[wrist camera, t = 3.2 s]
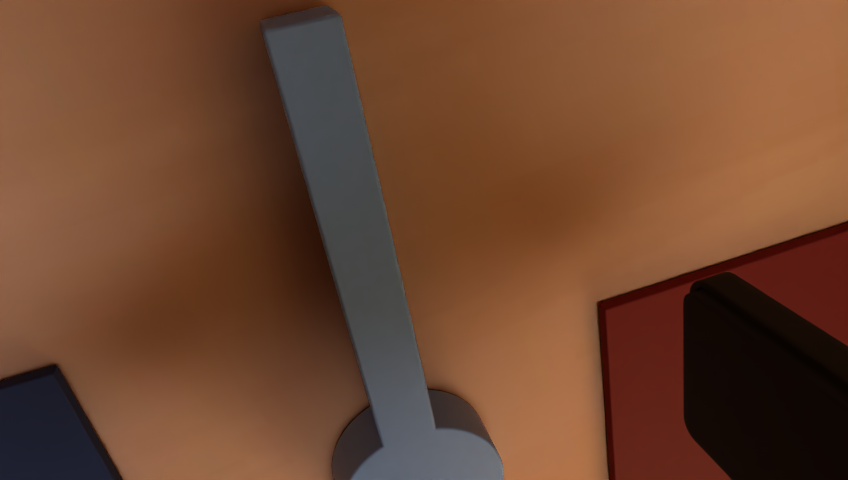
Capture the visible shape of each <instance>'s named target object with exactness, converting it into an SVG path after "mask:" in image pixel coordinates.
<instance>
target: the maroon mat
mask: <svg viewBox="0 0 848 480" xmlns="http://www.w3.org/2000/svg"><path fill="white" fill-rule="evenodd" d="M723 272H731V273H733V274H735V275H737V276H738V277H740V278H742V279H743V280H745V281H746V282H748V283H749V284H751V285H753V286H754V287H756V288H757V289H759V290H760V291H762V292H764V293H765V294H767V295H768V296H770V297H771V298H773V299H775V300H776V301H778V302H779V303H781V304H782V305H784V306H786V307H787V308H789V309H790V310H792V311H793V312H795V313H797V314H798V315H800V316H801V317H803V318H804V319H806V320H808V321H809V322H811V323H812V324H814V325H815V326H817V327H819V328H820V329H822V330H823V331H825V332H826V333H828V334H830V335H831V336H833V337H834V338H836V339H837V340H839V341H841V342H842V343H844V344H845V345H847V346H848V223H845V224H842V225H839V226H836V227H833V228H830V229H826V230H823V231H820V232H817V233H814V234H811V235H808V236H805V237H802V238H799V239H796V240H792V241H789V242H786V243H783V244H780V245H777V246H774V247H771V248H768V249H765V250H762V251H758V252H755V253H752V254H749V255H746V256H743V257H740V258H737V259H734V260H731V261H728V262H725V263H721V264H718V265H715V266H712V267H709V268H706V269H703V270H700V271H697V272H694V273H691V274H687V275H684V276H681V277H678V278H675V279H672V280H669V281H666V282H663V283H660V284H657V285H653V286H650V287H647V288H644V289H641V290H638V291H635V292H632V293H629V294H626V295H623V296H619V297H616V298H613V299H610V300H607V301H604V302H601V303H599V320H600V335H601V351H602V366H603V382H604V397H605V413H606V428H607V444H608V459H609V475H610V480H732V479H731V478H730V477H729V476H728V475H727V474H726V473H725V472H724V471H723V470H722V469H721V468H720V467H719V466H718V465H717V464H716V463H715V461H714V460H713V459H712V458H711V457H710V456H709V455H708V454H707V453H706V452H705V451H704V450H703V449H702V448H701V447H700V446H699V445H698V444H697V443H696V442H695V440H694V439H693V438H692V437H691V435H690V434H689V432H688V430H687V428H686V425H685V422H684V376H683V301H684V297H685V295H686V294H688V293H690V288H691V286H692V284H693V283H694V282H696V281H699V280H702V279H705V278H708V277H711V276H714V275H717V274H720V273H723Z"/></svg>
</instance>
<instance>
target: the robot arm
mask: <svg viewBox="0 0 848 480" xmlns="http://www.w3.org/2000/svg"><path fill="white" fill-rule="evenodd" d="M683 376H684V422H685V425H686V428H687V430H688V432H689V434H690V435H691V437H692V438H693V439H694V440H695V442H696V443H697V444H698V445H699V446H700V447H701V448H702V449H703V450H704V451H705V452H706V453H707V454H708V455H709V456H710V457H711V458H712V459H713V460H714V461H715V463H716V464H717V465H718V466H719V467H720V468H721V469H722V470H723V471H724V472H725V473H726V474H727V475H728V476H729V477H730V478H731V479H732V480H848V346H847V345H845V344H844V343H842V342H841V341H839V340H837V339H836V338H834V337H833V336H831V335H830V334H828V333H826V332H825V331H823V330H822V329H820V328H819V327H817V326H815V325H814V324H812V323H811V322H809V321H808V320H806V319H804V318H803V317H801V316H800V315H798V314H797V313H795V312H793V311H792V310H790V309H789V308H787V307H786V306H784V305H782V304H781V303H779V302H778V301H776V300H775V299H773V298H771V297H770V296H768V295H767V294H765V293H764V292H762V291H760V290H759V289H757V288H756V287H754V286H753V285H751V284H749V283H748V282H746V281H745V280H743V279H742V278H740V277H738V276H737V275H735V274H733V273H731V272H723V273H720V274H717V275H714V276H711V277H708V278H705V279H702V280H699V281H696V282H694V283H693V284H692V286H691V288H690V293H688V294H686V295H685V297H684V301H683Z"/></svg>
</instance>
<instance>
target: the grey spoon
mask: <svg viewBox="0 0 848 480" xmlns="http://www.w3.org/2000/svg"><path fill="white" fill-rule="evenodd" d="M260 28H261V31H262V35H263V38H264V42H265V45H266V48H267V52H268V55H269V59H270V62H271V66H272V69H273V73H274V76H275V80H276V83H277V86H278V90H279V93H280V97H281V100H282V104H283V107H284V111H285V114H286V118H287V121H288V124H289V128H290V131H291V135H292V138H293V142H294V145H295V149H296V152H297V156H298V159H299V162H300V166H301V169H302V173H303V176H304V180H305V183H306V187H307V190H308V194H309V197H310V200H311V204H312V207H313V211H314V214H315V218H316V221H317V225H318V228H319V231H320V235H321V238H322V242H323V245H324V249H325V252H326V256H327V259H328V263H329V266H330V269H331V273H332V276H333V280H334V283H335V287H336V290H337V294H338V297H339V301H340V304H341V307H342V311H343V314H344V318H345V321H346V325H347V328H348V332H349V335H350V339H351V342H352V345H353V349H354V352H355V356H356V359H357V363H358V366H359V370H360V373H361V377H362V380H363V383H364V387H365V390H366V394H367V397H368V401H369V404H370V407H369V408H367V409H366V410H364V411H363V412H362V413H361V414H359V415H358V416H357V417H356V418H355V419H354V420H353V421H352V422H351V423H350V424H349V426H348V427H347V428H346V429H345V431H344V432H343V434H342V435H341V437H340V439H339V441H338V443H337V445H336V448H335V451H334V455H333V460H332V474H333V479H334V480H503V478H504V472H503V464H502V461H501V458H500V456H499V454H498V452H497V450H496V448H495V446H494V444H493V442H492V440H491V438H490V436H489V434H488V433H487V431H486V429H485V427H484V425H483V423H482V421H481V419H480V417H479V415H478V414H477V413H476V411H475V410H474V409H473V408H472V407H471V406H470V405H469V404H468V403H467V402H465V401H464V400H463V399H461V398H459V397H457V396H455V395H453V394H449V393H446V392H442V391H437V390H428V389H427V385H426V381H425V376H424V372H423V368H422V363H421V359H420V355H419V350H418V346H417V342H416V337H415V333H414V329H413V324H412V320H411V316H410V311H409V307H408V303H407V298H406V294H405V290H404V285H403V281H402V277H401V273H400V268H399V264H398V260H397V255H396V251H395V247H394V242H393V238H392V234H391V229H390V225H389V221H388V216H387V212H386V208H385V203H384V199H383V195H382V190H381V186H380V182H379V177H378V173H377V169H376V164H375V160H374V156H373V151H372V147H371V143H370V138H369V134H368V130H367V125H366V121H365V117H364V112H363V108H362V104H361V99H360V95H359V91H358V86H357V82H356V78H355V73H354V69H353V65H352V60H351V56H350V52H349V47H348V43H347V39H346V34H345V30H344V26H343V21H342V17H341V15H340V14H339V13H338V12H336V11H335V10H333V9H332V8H330V7H329V6H321V7H316V8H312V9H307V10H303V11H299V12H294V13H290V14H285V15H281V16H276V17H272V18H268V19H263V20H262V21H260Z"/></svg>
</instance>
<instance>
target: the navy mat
mask: <svg viewBox="0 0 848 480" xmlns="http://www.w3.org/2000/svg"><path fill="white" fill-rule="evenodd" d="M0 480H122V479H121V477H120V475H119V474H118V472H117V470H116V468H115V467H114V465H113V463H112V461H111V460H110V458H109V456H108V454H107V452H106V451H105V449H104V447H103V445H102V444H101V442H100V440H99V438H98V437H97V435H96V433H95V431H94V430H93V428H92V426H91V424H90V423H89V421H88V419H87V417H86V415H85V414H84V412H83V410H82V408H81V407H80V405H79V403H78V401H77V400H76V398H75V396H74V394H73V393H72V391H71V389H70V387H69V386H68V384H67V382H66V380H65V378H64V377H63V375H62V373H61V371H60V370H59V368H58V366H57V365H53V366H49V367H46V368H43V369H39V370H36V371H32V372H29V373H26V374H22V375H19V376H16V377H12V378H9V379H6V380H2V381H0Z"/></svg>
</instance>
